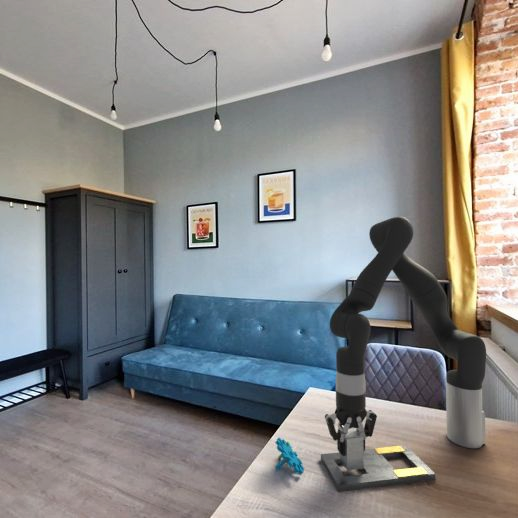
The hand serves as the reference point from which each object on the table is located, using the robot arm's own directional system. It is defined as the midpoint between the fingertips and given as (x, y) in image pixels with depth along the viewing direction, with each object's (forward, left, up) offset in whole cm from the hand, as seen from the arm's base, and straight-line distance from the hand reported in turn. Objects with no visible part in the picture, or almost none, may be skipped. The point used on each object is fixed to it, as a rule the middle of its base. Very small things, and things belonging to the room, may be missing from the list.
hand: (351, 452), depth 80 cm
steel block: (0, 0, -3) cm, 3 cm away
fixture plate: (-7, 0, -5) cm, 9 cm away
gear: (+16, -4, -6) cm, 17 cm away
